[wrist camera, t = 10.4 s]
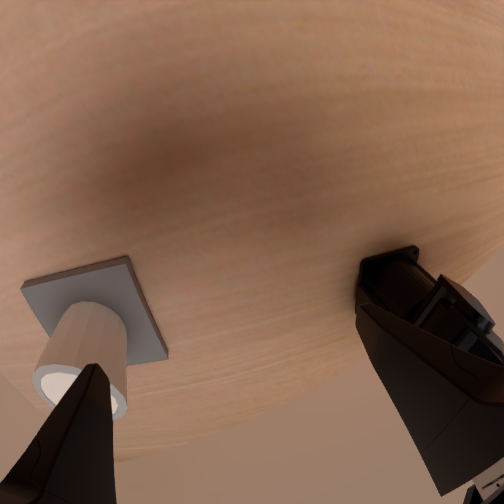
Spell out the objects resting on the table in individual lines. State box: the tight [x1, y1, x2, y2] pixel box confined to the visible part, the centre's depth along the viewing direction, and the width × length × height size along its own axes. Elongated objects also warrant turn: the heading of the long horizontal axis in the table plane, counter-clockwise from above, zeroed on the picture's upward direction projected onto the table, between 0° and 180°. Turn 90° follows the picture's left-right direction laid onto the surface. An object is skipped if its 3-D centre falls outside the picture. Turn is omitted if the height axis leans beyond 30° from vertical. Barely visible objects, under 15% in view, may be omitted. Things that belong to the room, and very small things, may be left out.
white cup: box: [33, 301, 128, 421], centre depth 18 cm, size 7×7×7 cm
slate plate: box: [20, 256, 168, 366], centre depth 21 cm, size 10×10×1 cm
